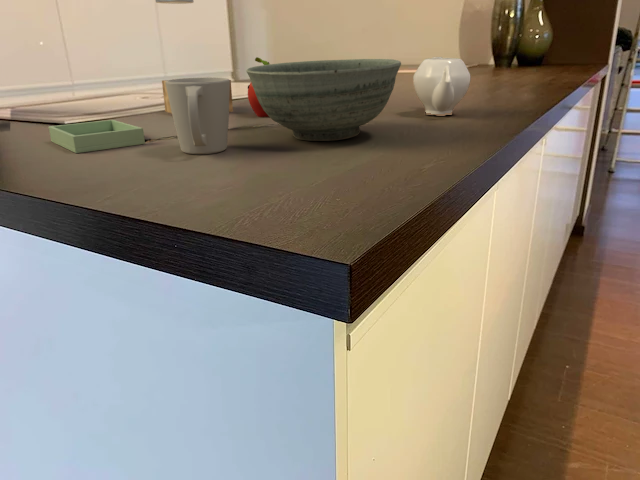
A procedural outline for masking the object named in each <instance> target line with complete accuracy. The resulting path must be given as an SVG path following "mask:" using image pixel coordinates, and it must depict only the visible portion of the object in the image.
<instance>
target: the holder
mask: <svg viewBox="0 0 640 480" xmlns="http://www.w3.org/2000/svg"><path fill="white" fill-rule="evenodd" d="M167 80H168V79H164V80H163V79H162V80H161V85H162V94H163V104H164V111H165V113H169V114H172V111H171V107H170V102H169V97H168V93H167V88H166V83H165V82H166V81H167ZM229 80H230V92H229V113H233V112H234V106H233V105H234V104H233V94H232V80H231V79H229Z"/></svg>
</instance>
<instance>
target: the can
mask: <svg viewBox="0 0 640 480" xmlns="http://www.w3.org/2000/svg"><path fill="white" fill-rule="evenodd" d="M155 3H156V4H168V5H170V4H171V5H172V4H173V5H175V4H177V5H178V4H180V5H181V4H182V5H184V4H194V0H155Z"/></svg>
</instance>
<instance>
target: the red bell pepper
mask: <svg viewBox="0 0 640 480" xmlns="http://www.w3.org/2000/svg"><path fill="white" fill-rule="evenodd" d="M254 61H255V62H257V63H260V64H262V65H269V64H270V62H269V61H267V60H263V59H262V58H261V57H259V56H258V57H257V56H256V57H255V59H254ZM247 99H248V103H249V105H250V107H251V109H252V110H253V112H254V114H255V115H256V116H257V117H258V118H270V117H269V116H268V115H267V113H266V112H265V111H264V110H263V108H262V106H261V105H260V103H259V101H258V99H257V96H256V94H255V91H254V88H253V86H252V83H251V82H250V83H249V84H248V85H247Z"/></svg>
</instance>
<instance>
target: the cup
mask: <svg viewBox="0 0 640 480" xmlns="http://www.w3.org/2000/svg"><path fill="white" fill-rule="evenodd" d="M166 80H167V81H166V82H165V83H166V88H167V93H168V97H169V102H170V107H171V111H172V113H171V116H172V120H173V125H174V128H175V131H176V136H177V139H178V142H179V143H178V144H179V148H180V151H181V152H183V153H184V154H187V155H213V154H218V153H222V152H224V151H225V150H226V149H228V136H229V122H230V119H229V118H230V112H229V92H230V80H231V79H229V78H227V77H209V76H208V77H207V76H206V77H184V78H174V79H173V78H172V79H166Z"/></svg>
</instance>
